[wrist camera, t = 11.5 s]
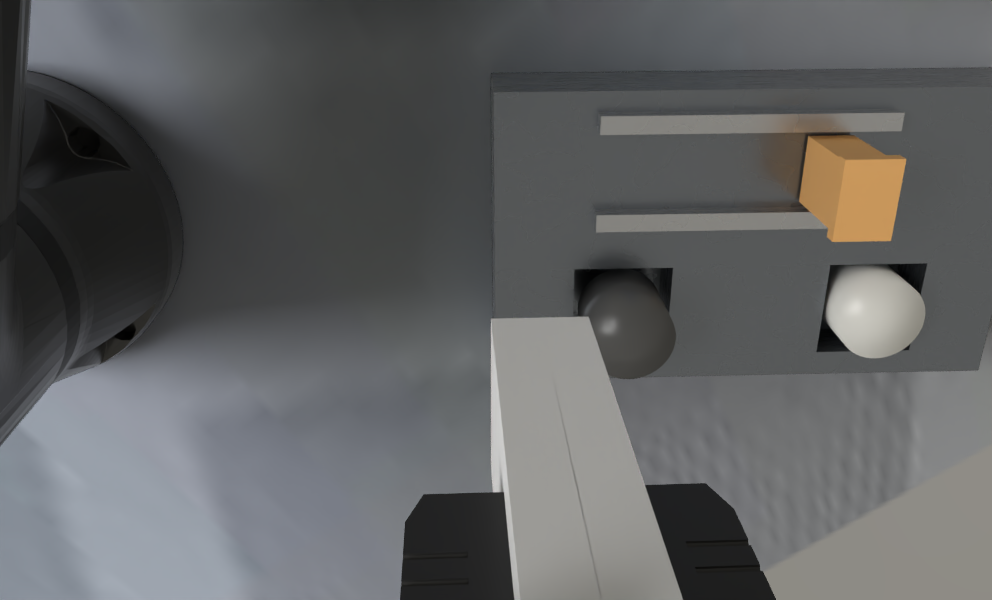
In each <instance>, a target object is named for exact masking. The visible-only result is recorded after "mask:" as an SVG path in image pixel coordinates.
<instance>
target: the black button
mask: <svg viewBox="0 0 992 600" xmlns="http://www.w3.org/2000/svg"><path fill="white" fill-rule="evenodd" d="M578 316H579V317H589V319H590V322H591V325H592V328H593V331H594V334H595V337H596V340H597V343H598V346H599V349H600V352H601V355H602V358H603V361H604V364H605V367H606V370H607V373H608V375H610V376H612V377H616V378H621V379H635V378H640V377H644V376H646V375H649V374H651V373H653V372H654V371H656V370H657V369H659V368H660V367H661V366H662V365H663V364H664V363H665V362H666V361H667V360H668V358H669V357H670V355H671V353H672V351H673V349H674V346H675V341H676V331H675V326H674V323H673V321H672V319H671V317H670V315H669V313H668V311H667V309H666V307H665V305H664V303H663V301H662V299H661V296H660V294H659V292H658V290H657V288H656V287H655V285H654V283H653V282H652V281H651V280H650V279H649V278H648V277H646V276H645V275H643V274H642V273H639V272H637V271H634V270H630V269H614V270H609V271H606V272H604V273H602V274H600V275H598V276H596V277H595V278H594V279H592V280H591V281H590V282H589V283H588V284H587V285H586V287H585V288H584V289H583V291H582V293H581V295H580V298H579V302H578Z"/></svg>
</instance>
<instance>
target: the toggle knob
mask: <svg viewBox="0 0 992 600" xmlns="http://www.w3.org/2000/svg"><path fill="white" fill-rule="evenodd" d="M905 165H906V158H904V157H902V156H901V155H885V154H883V153H882V152H880V151H878V150H877V149H875V148H874V147H872V146H870V145H869V144H867V143H865V142H864V141H862V140H861V139H859V138H857V137H856V136H854V135H833V136H808V142H807V149H806V156H805V163H804V170H803V177H802V184H801V191H800V198H799V202H800V203H801V204H802V205H803V206H804V207H805V208H807V209H808V210H809V211H810V212H811V213H812V214H813V215H814V216H815V217H816V218H817V219H819V220H820V221H821V222H822V223H823V224H824V225H825V226H826V227H827V228H828V232H827V237H828V238H829V239H830V240H831V241H832V242H863V241H891V238H892V233H893V228H894V222H895V217H896V212H897V207H898V201H899V196H900V191H901V186H902V180H903V175H904V170H905Z"/></svg>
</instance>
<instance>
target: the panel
mask: <svg viewBox="0 0 992 600" xmlns="http://www.w3.org/2000/svg"><path fill="white" fill-rule="evenodd" d="M833 135H854V136H856V137H857V138H859V139H861V140H862V141H864V142H865V143H867V144H869V145H870V146H872V147H874V148H875V149H877V150H878V151H880V152H882V153H883V154H885V155H901V156H902V157H904V158H906V165H905V170H904V175H903V180H902V186H901V191H900V196H899V201H898V207H897V212H896V217H895V222H894V228H893V233H892V238H891V241H863V242H832V241H831V240H830V239H829V238H828V237H827V232H828V228H827V227H826V226H825V225H824V224H823V223H822V222H821V221H820V220H819V219H817V218H816V217H815V216H814V215H813V214H812V213H811V212H810V211H809V210H808V209H807V208H805V207H804V206H803V205H802V204H801V203H800V202H799V198H800V191H801V184H802V177H803V170H804V163H805V156H806V149H807V142H808V136H833ZM491 139H492V274H493V319H498V318H546V317H579V316H578V302H579V298H580V295H581V293H582V291H583V289H584V288H585V287H586V285H587V284H588V283H589V282H590V281H591V280H592V279H594V278H595V277H596V276H598V275H600V274H602V273H604V272H606V271H609V270H614V269H630V270H634V271H637V272H639V273H642V274H643V275H645V276H646V277H648V278H649V279H650V280H651V281H652V282H653V283H654V285H655V287H656V288H657V290H658V292H659V294H660V296H661V299H662V301H663V303H664V305H665V307H666V309H667V311H668V313H669V315H670V317H671V319H672V321H673V323H674V326H675V331H676V341H675V346H674V349H673V351H672V353H671V355H670V357H669V358H668V360H667V361H666V362H665V363H664V364H663V365H662V366H661V367H660V368H659V369H657V370H656V371H654V372H653V373H651V374H649V375H646V376H644V377H671V376H720V375H770V374H819V373H869V372H918V371H968V370H978V369H979V365H980V361H981V356H982V352H983V348H984V344H985V340H986V336H987V332H988V328H989V324H990V320H991V316H992V68H913V69H823V70H732V71H642V72H552V73H491ZM860 264H887V265H888V266H889V267H890V268H891V269H892V270H894V271H895V272H896V273H897V274H898V275H899V276H900V277H902V278H903V279H904V280H905V281H906V282H907V283H908V284H910V285H911V286H912V287H913V288H914V289H915V290H916V291H917V292H918V293H919V294H920V296H921V297H922V299H923V302H924V305H925V320H924V324H923V326H922V329H921V331H920V332H919V334H918V335H917V337H916V338H915V339H914V340H913V341H912V343H910V344H909V345H908V346H907V347H906V348H904V349H903V350H901V351H899V352H898V353H895V354H893V355H891V356H887V357H883V358H865V357H862V356H859V355H857V354H855V353H853V352H851V351H850V350H849V349H848V348H847V347H846V346H845V345H844V343H843V342H842V341H841V340H840V339H839V337H838V336H837V335H836V334H835V333H834V332H833V330H832V329H831V328H830V327H829V326H828V324H827V323H826V322H825V321H824V320H823V318H822V314H823V308H824V301H825V295H826V289H827V283H828V277H829V271H830V265H860ZM608 376H609V378H616V377H612V376H610V375H608Z"/></svg>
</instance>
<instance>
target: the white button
mask: <svg viewBox="0 0 992 600" xmlns="http://www.w3.org/2000/svg"><path fill="white" fill-rule="evenodd" d="M822 318H823V320H824V321H825V322H826V323H827V324H828V326H829V327H830V328H831V329H832V330H833V332H834V333H835V334H836V335H837V336H838V337H839V339H840V340H841V341H842V342H843V343H844V345H845V346H846V347H847V348H848V349H849V350H850V351H851V352H853V353H855V354H857V355H859V356H862V357H865V358H883V357H887V356H891V355H893V354H895V353H898V352H899V351H901V350H903V349H904V348H906V347H907V346H908V345H909V344H910V343H912V341H913V340H914V339H915V338H916V337H917V335H918V334H919V332H920V331H921V329H922V326H923V324H924V320H925V305H924V302H923V299H922V297H921V296H920V294H919V293H918V292H917V291H916V290H915V289H914V288H913V287H912V286H911V285H910V284H908V283H907V282H906V281H905V280H904V279H903V278H902V277H900V276H899V275H898V274H897V273H896V272H895V271H894V270H892V269H891V268H890V267H889V266H888V265H887V264H860V265H830V271H829V277H828V283H827V289H826V295H825V301H824V308H823V314H822Z"/></svg>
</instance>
